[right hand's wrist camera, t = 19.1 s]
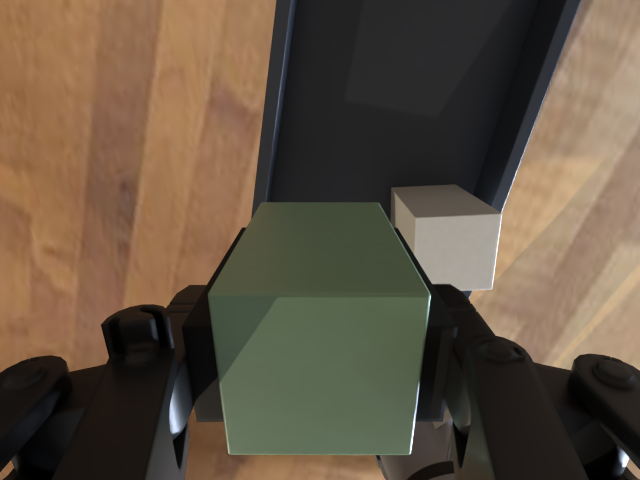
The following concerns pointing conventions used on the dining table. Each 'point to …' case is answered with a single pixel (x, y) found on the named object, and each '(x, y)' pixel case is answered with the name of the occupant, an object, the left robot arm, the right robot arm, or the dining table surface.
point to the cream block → (448, 233)
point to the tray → (404, 96)
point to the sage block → (319, 333)
